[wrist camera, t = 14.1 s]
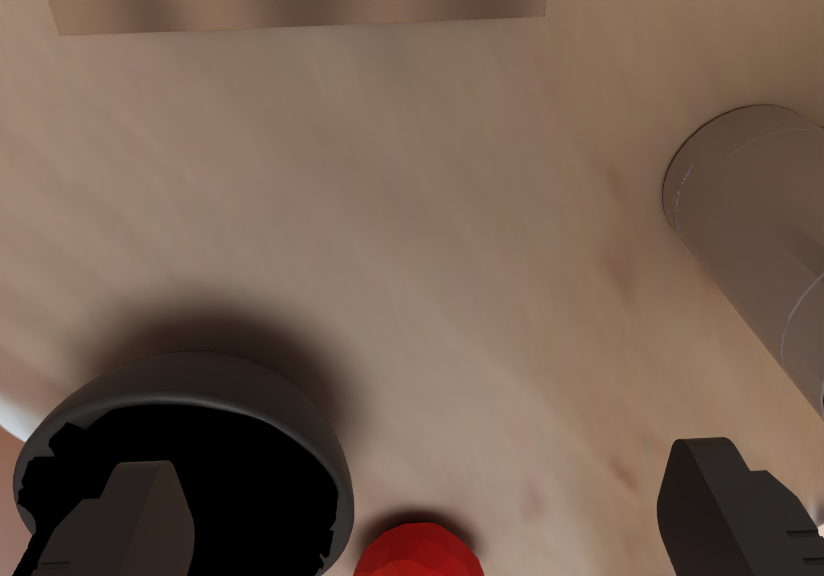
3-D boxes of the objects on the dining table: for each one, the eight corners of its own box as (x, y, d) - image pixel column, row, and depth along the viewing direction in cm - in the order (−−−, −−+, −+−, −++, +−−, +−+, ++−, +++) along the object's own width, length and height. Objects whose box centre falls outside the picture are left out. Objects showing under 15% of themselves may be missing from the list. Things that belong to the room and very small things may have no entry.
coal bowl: (416, 397, 47) (429, 661, 32) (250, 522, 55) (194, 786, 39) (187, 230, 39) (52, 474, 23) (29, 404, 47) (-155, 677, 31)
